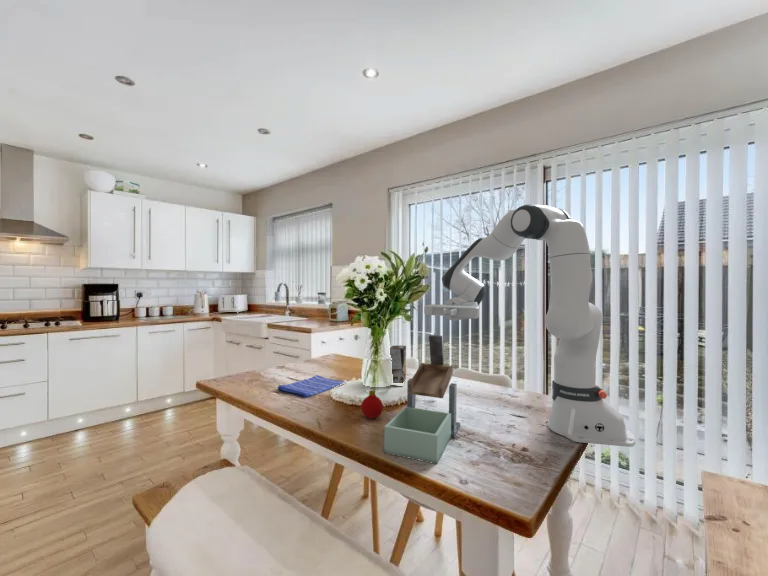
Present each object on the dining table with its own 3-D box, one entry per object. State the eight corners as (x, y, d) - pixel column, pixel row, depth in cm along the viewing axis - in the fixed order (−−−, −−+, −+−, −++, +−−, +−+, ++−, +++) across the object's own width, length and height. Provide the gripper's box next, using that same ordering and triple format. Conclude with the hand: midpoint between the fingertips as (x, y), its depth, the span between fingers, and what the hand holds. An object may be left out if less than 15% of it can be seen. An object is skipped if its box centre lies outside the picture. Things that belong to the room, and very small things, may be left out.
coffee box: (403, 387, 150) (403, 349, 150) (388, 386, 151) (388, 348, 151) (406, 381, 159) (406, 345, 159) (392, 380, 160) (392, 344, 160)
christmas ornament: (373, 423, 111) (373, 392, 111) (356, 418, 115) (356, 387, 115) (387, 417, 117) (387, 387, 116) (370, 412, 121) (371, 383, 121)
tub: (450, 437, 101) (451, 413, 101) (437, 464, 87) (437, 435, 86) (404, 429, 107) (405, 406, 107) (384, 453, 92) (384, 426, 92)
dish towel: (275, 392, 144) (275, 385, 144) (317, 379, 163) (317, 372, 163) (305, 400, 134) (305, 392, 134) (345, 385, 154) (345, 378, 154)
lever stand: (460, 426, 109) (460, 381, 109) (454, 438, 101) (454, 389, 101) (411, 418, 115) (411, 375, 115) (401, 429, 107) (402, 383, 107)
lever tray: (453, 372, 113) (451, 336, 110) (442, 398, 100) (440, 358, 97) (423, 369, 117) (420, 334, 114) (409, 393, 104) (405, 354, 101)
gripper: (429, 300, 142) (419, 302, 130) (481, 302, 135) (476, 305, 122) (429, 315, 143) (419, 319, 130) (481, 318, 135) (476, 323, 122)
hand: (447, 312), depth 126 cm, fingers closed
